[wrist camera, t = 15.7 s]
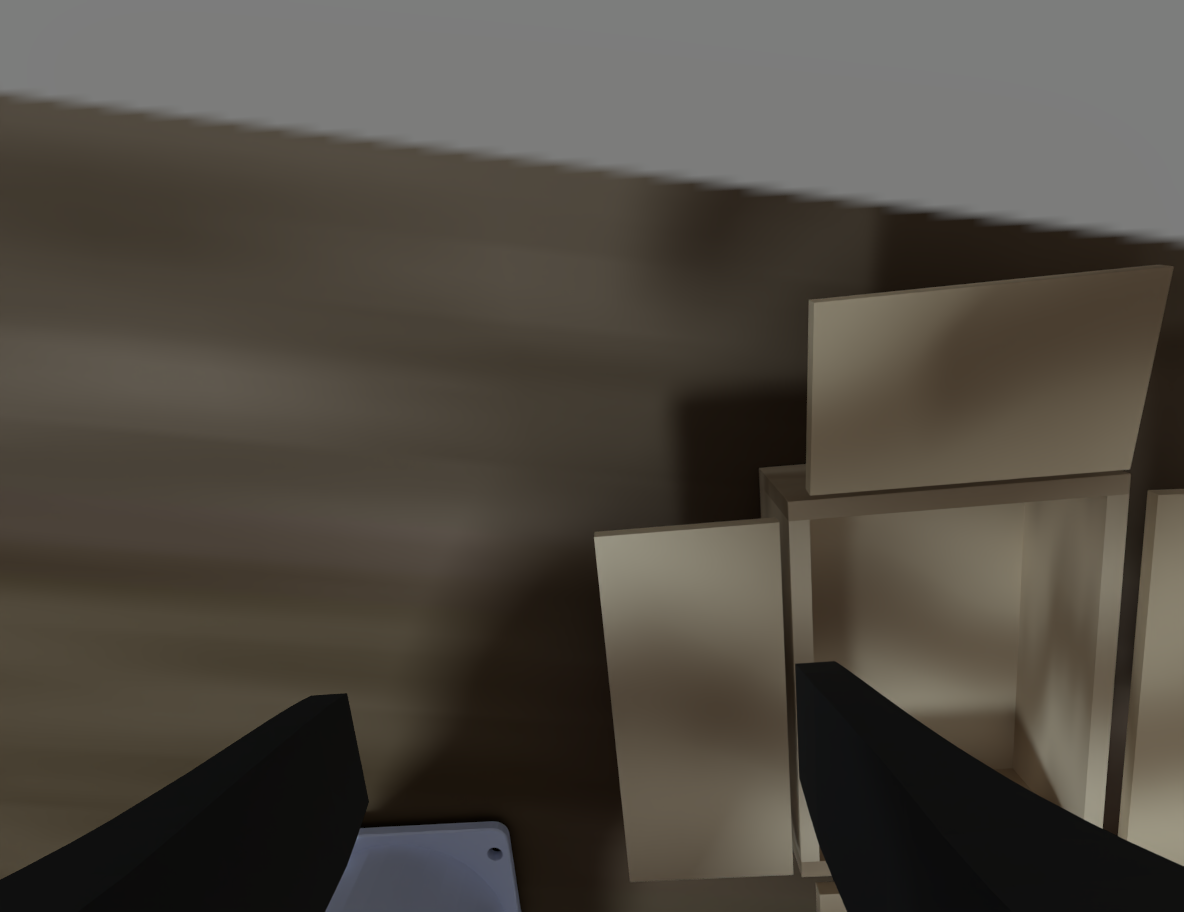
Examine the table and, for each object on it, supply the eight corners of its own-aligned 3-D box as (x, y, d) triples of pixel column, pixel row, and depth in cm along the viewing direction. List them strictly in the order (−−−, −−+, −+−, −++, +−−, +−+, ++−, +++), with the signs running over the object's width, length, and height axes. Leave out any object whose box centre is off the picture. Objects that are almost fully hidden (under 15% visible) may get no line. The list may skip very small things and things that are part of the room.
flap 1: (1173, 266, 13) (1158, 264, 14) (814, 302, 14) (808, 299, 14) (1130, 469, 15) (1117, 462, 15) (810, 495, 15) (805, 488, 16)
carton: (1016, 896, 22) (1095, 1013, 19) (641, 912, 23) (645, 1028, 19) (1038, 443, 19) (1140, 477, 15) (597, 481, 20) (592, 521, 16)
